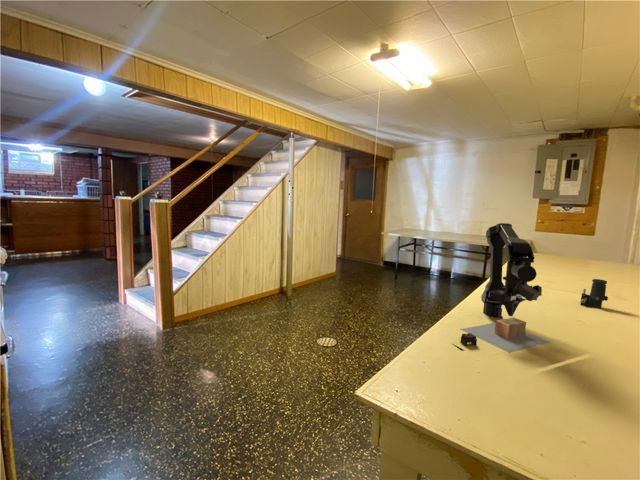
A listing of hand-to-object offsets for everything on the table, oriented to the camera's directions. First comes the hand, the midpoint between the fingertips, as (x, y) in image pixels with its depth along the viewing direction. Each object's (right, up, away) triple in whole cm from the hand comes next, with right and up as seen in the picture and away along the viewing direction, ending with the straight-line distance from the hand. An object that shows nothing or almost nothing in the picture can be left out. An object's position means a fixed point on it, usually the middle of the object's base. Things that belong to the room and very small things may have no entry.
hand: (510, 316), depth 117 cm
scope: (+67, -5, +41) cm, 78 cm away
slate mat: (-3, -8, 0) cm, 8 cm away
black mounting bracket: (-20, -9, -8) cm, 23 cm away
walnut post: (-4, -5, -1) cm, 6 cm away
